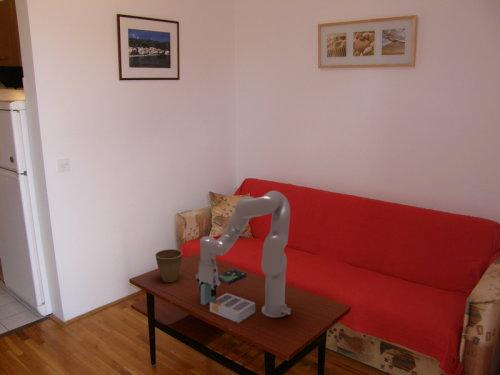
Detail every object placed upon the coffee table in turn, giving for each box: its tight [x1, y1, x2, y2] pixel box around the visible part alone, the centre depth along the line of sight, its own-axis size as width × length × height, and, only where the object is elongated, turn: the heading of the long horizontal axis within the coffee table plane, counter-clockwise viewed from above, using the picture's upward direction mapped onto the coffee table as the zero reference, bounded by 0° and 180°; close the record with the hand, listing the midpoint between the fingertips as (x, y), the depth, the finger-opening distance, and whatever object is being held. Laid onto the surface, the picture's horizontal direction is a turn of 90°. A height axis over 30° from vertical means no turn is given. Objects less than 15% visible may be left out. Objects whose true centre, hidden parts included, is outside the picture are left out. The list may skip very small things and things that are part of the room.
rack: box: [209, 292, 256, 324], centre depth 210 cm, size 18×13×5 cm
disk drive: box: [218, 268, 247, 285], centre depth 250 cm, size 10×3×15 cm
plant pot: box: [154, 248, 183, 283], centre depth 245 cm, size 15×15×16 cm
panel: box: [200, 282, 216, 306], centre depth 221 cm, size 2×8×10 cm, turn 143°
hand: (207, 293), depth 221 cm, fingers open, 7 cm apart
